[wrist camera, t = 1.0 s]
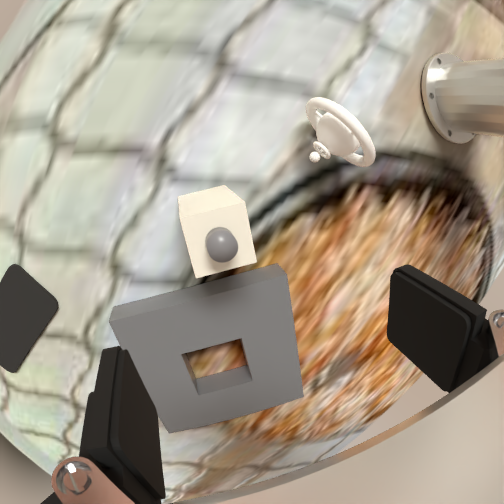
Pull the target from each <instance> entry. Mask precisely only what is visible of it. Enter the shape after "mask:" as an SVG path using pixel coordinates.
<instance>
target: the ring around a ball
mask: <svg viewBox="0 0 504 504" xmlns="http://www.w3.org/2000/svg"><path fill="white" fill-rule="evenodd" d="M317 109H322V110H325V111H327V113H326V114H324V115H323V116H322V115H321V114H320V113H318V112H317ZM306 114H307V117H308V120H309V122H310V123H311V125H312V127H313V128H314V130H315V131H316V136H317V139H318V142H317V141H316V142H314V143H313V147H314V149H315V150H316V151H317V152H318V153H317V152H312V153H311V154H310V156H309V158H310V160H311V161H312V162H318V161H319V160H320V155H321V156H322V157H324V158H326V159H329V158H330V156H331V155H330V154H332V155H336V156H341V157H342V158H344V159H345V160H347V161H348V162H350V163H352V164H354V165H357V166H360V167H367V166H370V165H371V164H372V163H373V162H374V160H375V156H376V155H375V148H374V145H373V142H372V140H371V138H370V136H369V134H368V133H367V131H366V130H365V129H364V127H363V126H362V125H361V123H360V122H359V121H358V120H357V119H356V117H354V116H353V115H352V114H351V113H350V112H348V111H347V110H346V109H345V108H343V107H342V106H340V105H339V104H337V103H335V102H333V101H331V100H329V99H326V98H321V97H316V98H312V99H310V100H309V101H308V102H307V105H306ZM319 117H320V118H319ZM360 145H361V147H362V149H363V152H364V156H361V155H357V154H355V153H353V152H355V151H356V150H357V149H358V148H359V147H360ZM320 148H321V149H320ZM323 151H324V152H323ZM319 154H320V155H319Z"/></svg>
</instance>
